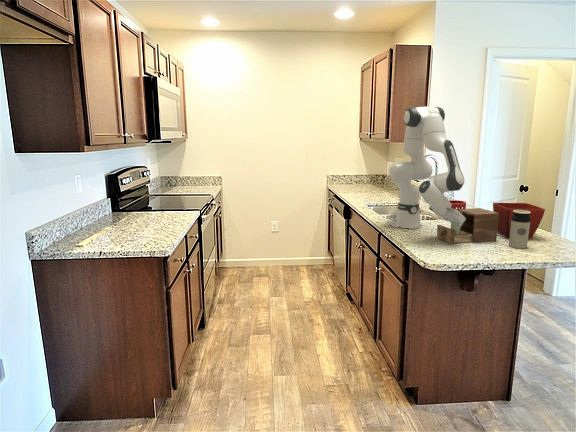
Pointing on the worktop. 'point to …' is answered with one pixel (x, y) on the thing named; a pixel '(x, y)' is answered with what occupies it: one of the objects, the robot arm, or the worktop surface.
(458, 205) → the plant pot
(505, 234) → the plant pot
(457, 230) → the spice jar
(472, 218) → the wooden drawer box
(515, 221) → the travel mug
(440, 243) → the worktop surface
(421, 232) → the worktop surface
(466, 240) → the wooden drawer
